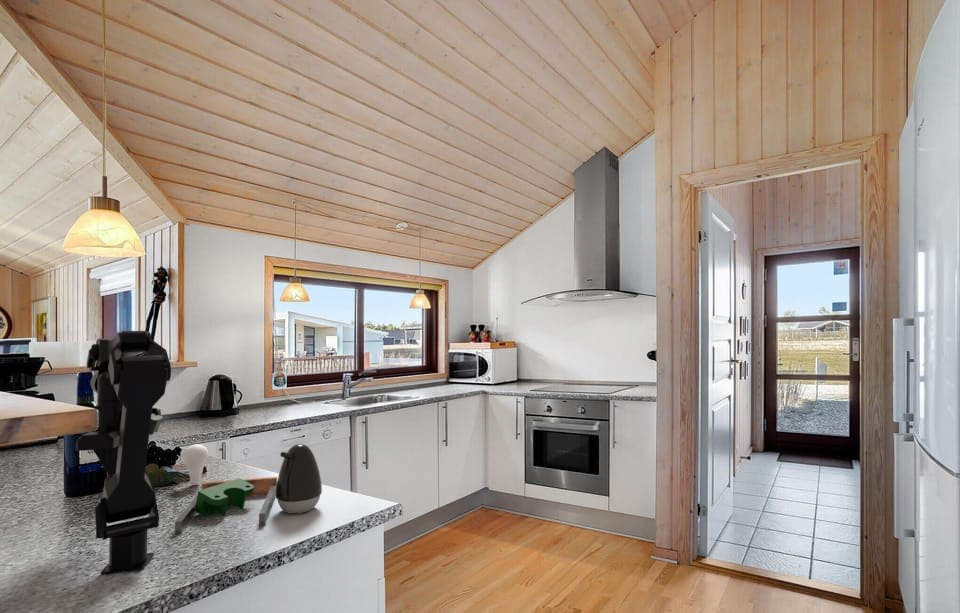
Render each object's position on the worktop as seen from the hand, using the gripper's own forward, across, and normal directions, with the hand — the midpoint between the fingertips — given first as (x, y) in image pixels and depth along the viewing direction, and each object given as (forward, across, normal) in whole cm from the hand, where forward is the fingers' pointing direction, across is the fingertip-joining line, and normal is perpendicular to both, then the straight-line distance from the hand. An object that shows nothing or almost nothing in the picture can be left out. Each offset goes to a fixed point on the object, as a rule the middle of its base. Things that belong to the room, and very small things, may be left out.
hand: (112, 476), depth 108 cm
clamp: (+13, +12, -19) cm, 26 cm away
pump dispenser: (+13, +7, -36) cm, 38 cm away
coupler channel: (+12, +11, -20) cm, 26 cm away
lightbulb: (+13, +36, -7) cm, 39 cm away
